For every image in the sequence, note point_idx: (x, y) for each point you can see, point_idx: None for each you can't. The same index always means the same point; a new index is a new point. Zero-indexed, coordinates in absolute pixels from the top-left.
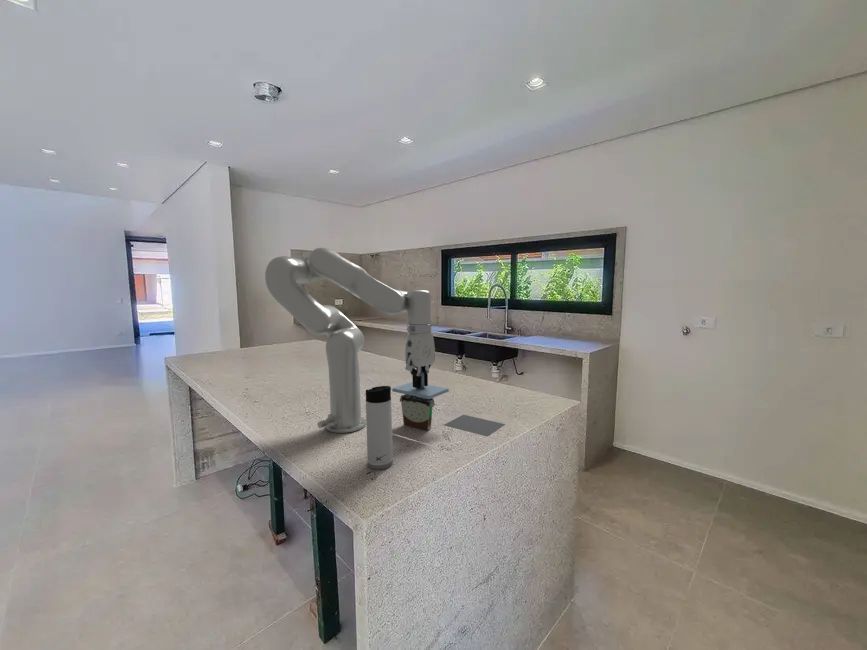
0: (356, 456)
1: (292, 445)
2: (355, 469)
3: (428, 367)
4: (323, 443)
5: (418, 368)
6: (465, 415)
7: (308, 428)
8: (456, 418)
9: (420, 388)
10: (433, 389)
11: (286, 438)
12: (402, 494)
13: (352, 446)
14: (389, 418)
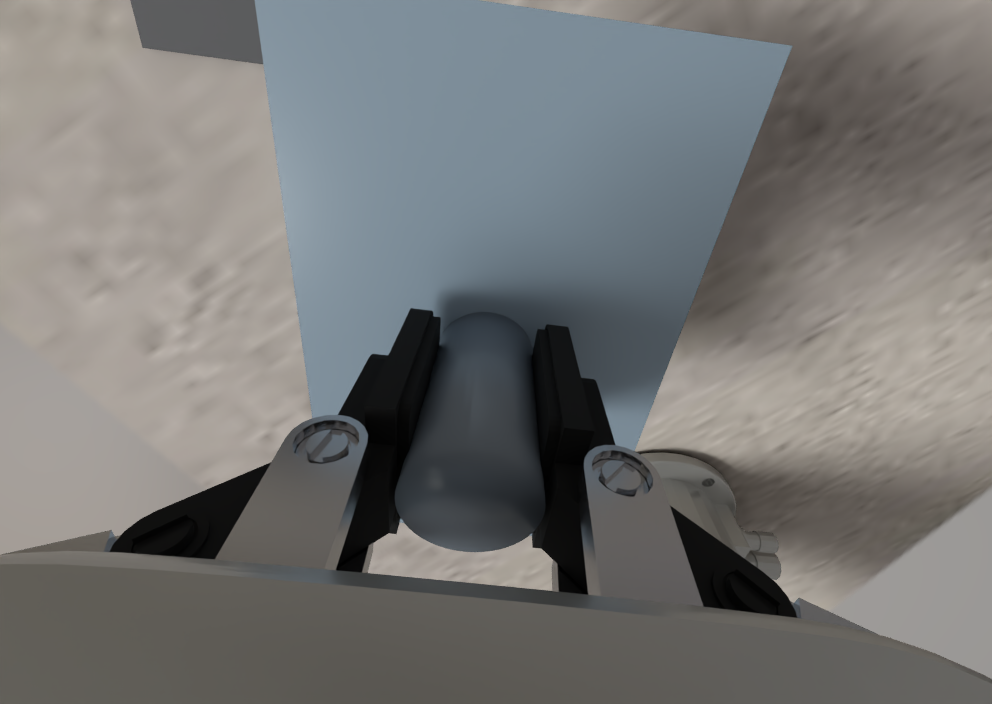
0: (974, 298)
1: (868, 538)
2: None
3: (253, 512)
4: (837, 477)
5: (668, 597)
6: (144, 16)
7: None
8: (251, 57)
9: (525, 337)
10: (442, 186)
11: (809, 579)
12: None
13: (855, 376)
14: None
